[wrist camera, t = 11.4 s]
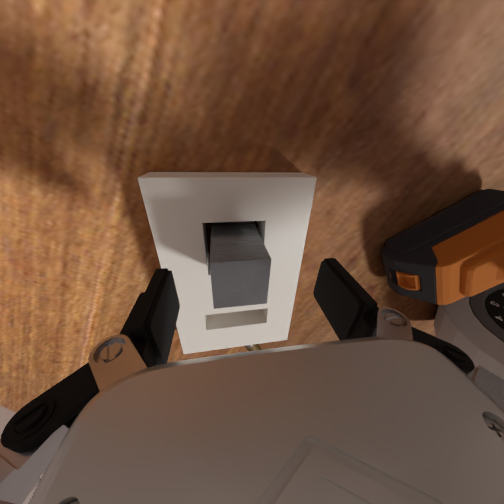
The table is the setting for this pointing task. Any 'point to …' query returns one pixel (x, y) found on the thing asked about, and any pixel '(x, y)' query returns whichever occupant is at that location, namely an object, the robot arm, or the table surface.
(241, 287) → the square peg
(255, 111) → the table surface
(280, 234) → the hole board
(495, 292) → the alarm clock
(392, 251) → the power drill
